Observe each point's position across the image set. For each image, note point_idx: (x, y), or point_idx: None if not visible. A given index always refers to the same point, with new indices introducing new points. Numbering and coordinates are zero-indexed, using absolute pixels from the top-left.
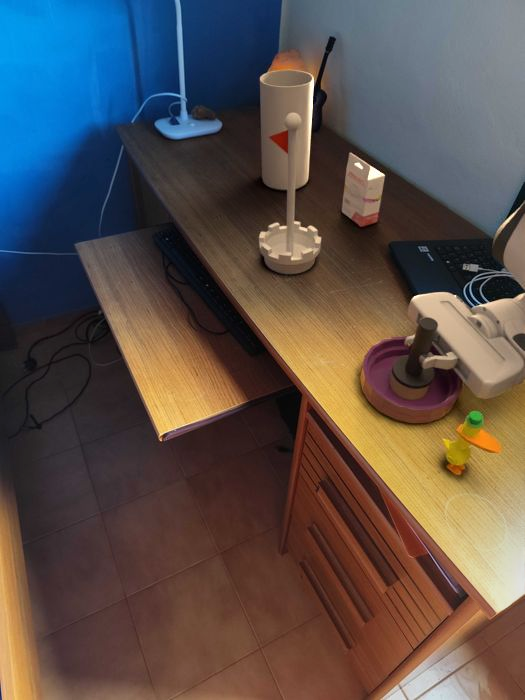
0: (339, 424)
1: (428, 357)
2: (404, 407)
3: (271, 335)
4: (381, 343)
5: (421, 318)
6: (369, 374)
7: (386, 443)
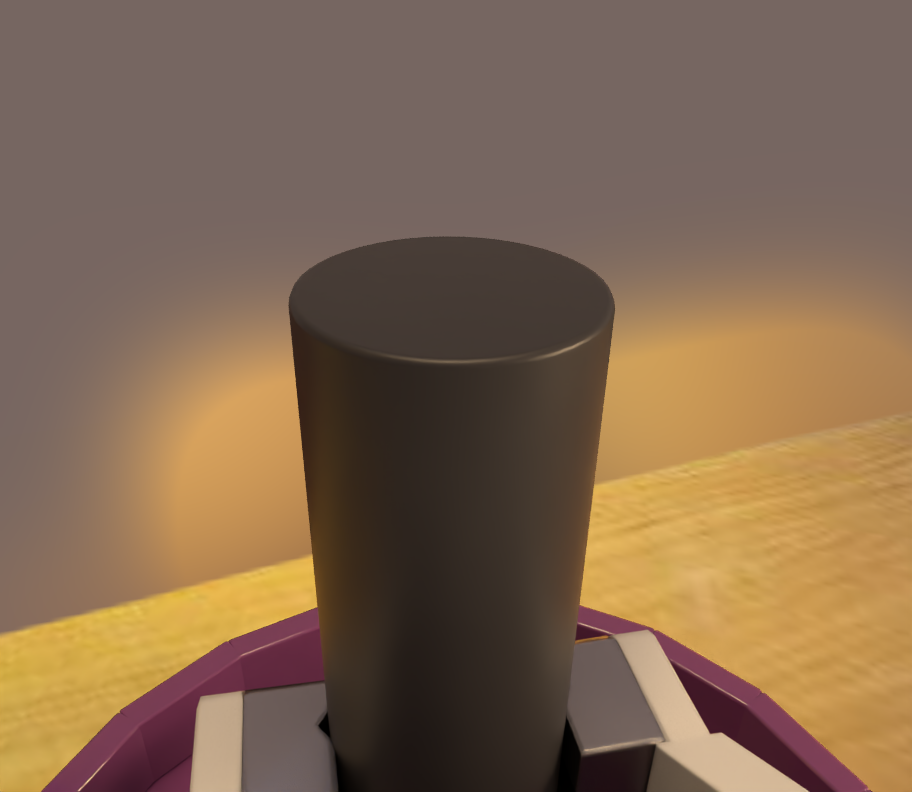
0: (269, 568)
1: (250, 733)
2: (90, 742)
3: (848, 438)
4: (824, 774)
5: (584, 267)
6: None
7: (39, 739)
